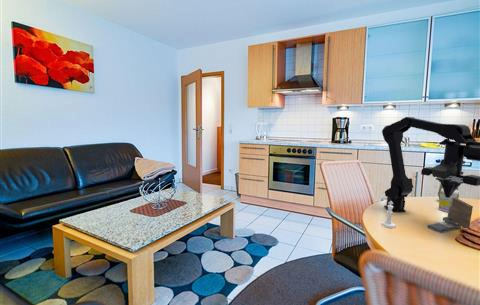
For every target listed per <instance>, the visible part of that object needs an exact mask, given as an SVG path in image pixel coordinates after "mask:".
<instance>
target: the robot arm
mask: <svg viewBox="0 0 480 305" xmlns="http://www.w3.org/2000/svg"><path fill="white" fill-rule="evenodd" d="M410 128H414V129H419V130H422V131H426V132H432V133H435V134H438V135H439V136H440V137H443V138H444V139H443V140H442V141H440V142H439V143H438V145H442V146H444V154H443V158H442V159H440V162H439V164H437V165H435V166H433V167H430V166H429V167H423V168H422V169H421V170H420V175H422V176H426V177H427V176H431V175H432V177H433V178H435V180H437V181H438V182H439V183H440V184H442V187H443V190H444V193H445V197H447V198H449V197H450V196H451V195H452V194H453V192H454V191H455V190H456V189H457V188H458V189H459V187H460V186H461V185H462V184H466V185H468V186H474V187H479V186H480V175H475V174H467V175H464V171H462V170H463V165H465V164H466V161H465V160H469V161H475V162H480V141H477V140H476V139H475V137H474V136H473V135H472V132H471V129H470V127H469V126H468V125H466V124H459V123H458V124H456V123H440V122H436V121H431V120H430V121H429V120H425V119H420V118H415V116H405V117H403V118H401V119H400V120H398V121H395V122H393V123H391V124H388V125H385V126H383V129H382V130H381V134H382V136H383V140H384V141H385V143H386V144H387V145H388V151H389V157H390V163H391V170H392V178H391V181H390V188H388V189H386V190H385V191H384V196H385V197H386V205H383V207H384V208H385V209H387V210H388V205H390V204H388V202H390V201H392V202H393V204H392V206H393V209H392V212H393V213H394V212H399V213H400V212H401V213H402V212H404V213H405V212H407V211H406V210H405V207H406V206H405V205H406V198H407V197H408V196H409V194H411V193H412V192H413V188H414V187H415V186H414V185H413V179H412V178H411V177H410V178H409V177H408V175H407V174H406V169H405V162H404V156H403V151H402V141H403V139H404V133H405V132H407V131H409V130H410ZM464 158H465V160H464ZM450 178H451V179H450Z"/></svg>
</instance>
